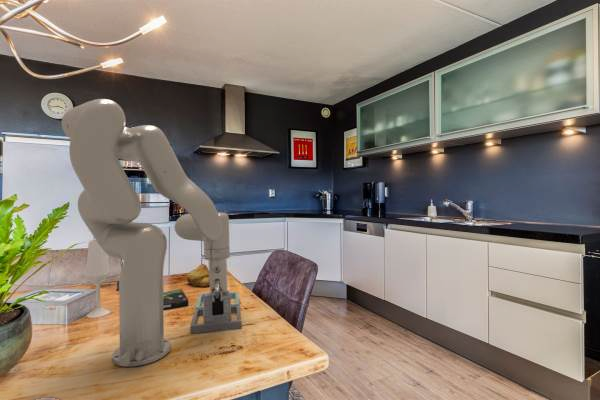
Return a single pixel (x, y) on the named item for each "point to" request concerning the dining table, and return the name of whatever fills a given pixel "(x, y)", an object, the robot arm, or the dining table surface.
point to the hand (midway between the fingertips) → (218, 308)
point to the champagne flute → (97, 273)
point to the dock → (219, 325)
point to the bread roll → (199, 276)
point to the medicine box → (208, 308)
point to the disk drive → (174, 299)
